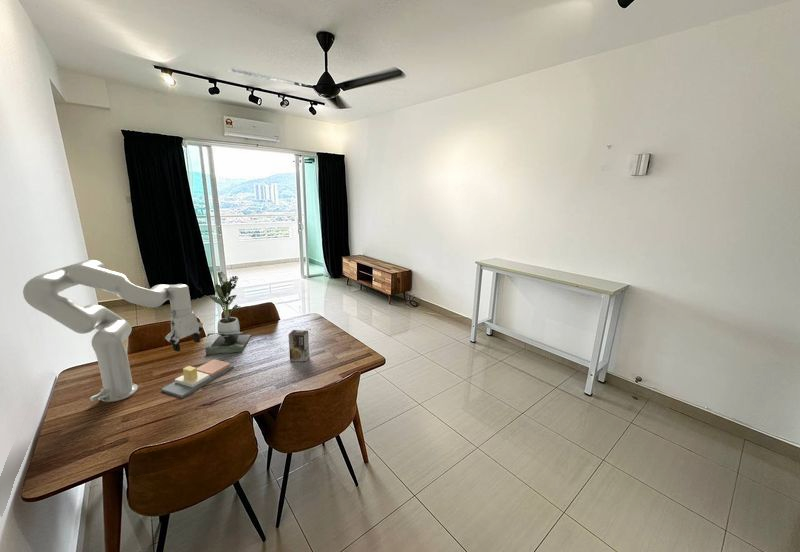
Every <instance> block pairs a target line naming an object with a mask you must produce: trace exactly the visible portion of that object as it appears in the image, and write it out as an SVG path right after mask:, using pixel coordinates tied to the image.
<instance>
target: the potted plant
mask: <svg viewBox="0 0 800 552" xmlns="http://www.w3.org/2000/svg"><path fill="white" fill-rule="evenodd" d="M217 277H218V281H219V284H218V283H216V284H215V290H216V294H217V296H209V298H210V299H211V300H212V301H213V303H216V304H218V305H220V307H221V309H222V311H223V316H224V318H220V319H218V321H217V332H209V333H207V335H206V337H207V338H208V337H209V336H213V335H218V337H217V338H215V340H214V341H213V343H212V344H211V345H210V346H207V347H205V354H206V355H216V354H218V353H221V354H234V353H233V352H239V353H243V352H244V350H245V348H246V346H247V345H248V343H249V341H250V339H251V338H250V336H251V337H252V334H244V332H243V331H240V321H239V319H238V318H237V317H235V316H231V314H232V312H233V311H234V310H238V309H239V308H241V305H238V304H234V305H233V306H232V308H231V309H230V312H229V306H230V305H231V304H232V303H233V301H234V300H235V299H236V297H237V296H238V295H236V294H234V295H231V292H232V290H235V289H236V286H237V282H238V281H239V277H237V275H235V276H234V275H232V276H231V277H229V280H228V277H227V276H225V274H224V272H223V271H218V272H217ZM223 279H224V280H223ZM249 338H250V339H249ZM248 340H249V341H248ZM247 342H248V343H247ZM246 344H247V345H246ZM242 351H243V352H242Z"/></svg>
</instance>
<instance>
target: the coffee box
mask: <svg viewBox="0 0 800 552" xmlns="http://www.w3.org/2000/svg"><path fill="white" fill-rule="evenodd" d="M287 335H288V349H289V350H288V351H289V352H288V353H289V361H290V360H293V361H292V362H297V361H306V360H307V361H308V359H309V358H310V344H309V343H310V339H309V330H297V329H292V331H290V332H289V333H288V334H287ZM308 357H309V358H308ZM307 361H306V362H307Z"/></svg>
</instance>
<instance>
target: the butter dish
mask: <svg viewBox="0 0 800 552" xmlns="http://www.w3.org/2000/svg"><path fill="white" fill-rule="evenodd" d="M197 368H198V367H194V366H192V365H187V366H185V367H183V368H182V374H183V375H180V376H178V377H176V378H175V379H174V382H176V383H179V384H182V385H186V386H189V387H192V388H193V387H194V386H196V385H198V384H200V383H201V382H203V381H205V380H207V379H208V378H210V375H209V374H205V373H202V372H198V371H197Z"/></svg>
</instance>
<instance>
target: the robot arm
mask: <svg viewBox="0 0 800 552" xmlns="http://www.w3.org/2000/svg"><path fill="white" fill-rule="evenodd" d="M78 285H81V286H85V287H88V288H92V289H97V290H101V291H104V292H107V293H112V294H114V295H116V296H117V297H119V298H120V299H122V300H123V301H124V300H125V301H126V302H129V303H131V304H135V305H138V306H143V307H147V308H158V307H160V306H161V305H163V304H164V303H165V302H167V301H169V303H170V311H171V312H169V316H170V332H169V333H167V334H166V336H164V338H165V340H166V341H167V342H169V343H171V344H172V349H173V351H174V352H180V351H181V344H180V342H179V341H180V340H182V339H184V338H188V337H189V336H192V338H193V342H195V343H200V342H201V340H200V334H201V331H202V329H203V325H204V324H203V323H204V322H198V318H197V315H196V314H195V312H194V311H193V308H192V307H193V306H192V301H191V295H190V289H189V288H190V287H189V286H188V285H187V284H183V283H177V284H161V283H160V284H156V285H154V286H152V287H151V288H150V289H149V288H145V287H141V286H138V285H136V284H134V283H132V282H131V281H130V280H129V279H128V278H127V275H126V274H124V273H121V272H118V271H115V270H110V269H108V268H106V266H105V264H104V263H103V262H101V261H99V260H96V259H86V260H83V261H80V262H76V263H74V264H69V265H67V266H64V267H59V268H55V269H53V270H50V271H47V272H45V273H41V274H39V275H36V276H34V277H32V278H30V279H29V280H28V281H27V282H26V283H25V285H24V286H23V290H22V294H23V298H24V300H25V302H26V303H27V304H29V306H30V307H32V308H34V309H35V310H37V311H39V312H41V313H43V314H45V315H47V316H48V317H50V318H52V319H53V320H54V321H56V322H58V323H60V325H63V326H65V328H68V329H70V330H72V331H73V332H75V333H77V334H82V335H83V334H88V333H89V334H90V333H91V332H93V330H95V329H96V330H97V332H95V334H94V335H93V336H92V338H91V346H92V349H93V351H94V353H95V356H96V360H97V364H98V368H99V373H100V378H101V382H102V388H100V391H99V392H98V393H97V394H94V395H92V396H90V397H89V400H90V401H91V402H94V401H95V400H98V401H102V402H104V403H110V402H111V403H113V402H118V401H122V400H124V399H128V398H129V397H131V396H132V395H135V394H136V393H137V392H138V390H139V386H138V385H137V384H136V383H133V379H132V378H133V377H132V373H131V367H130V366H131V365H130V361H129V356H128V352H127V349H126V348H125V345H124V342H125V340H126V339H127V338H129V336H130V335H131V333H132V329H133V328H132V326H131V324H130V322H128V321H127V320H126V319H125V318H123V317H121V316H120V315H119V314H117V313H115V312H114V311H112V310H110V309H109V308H107V307H105V306H103V305H100V304H95V303H93V304H88V305H85V306H81V305H79V304H78V303H77V302H75V301H74V300H71V299H70V298H68V297H64V296H61V295H59V293H60V292H63V291H65V290H66V289H69V288H71V287H75V286H78Z"/></svg>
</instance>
